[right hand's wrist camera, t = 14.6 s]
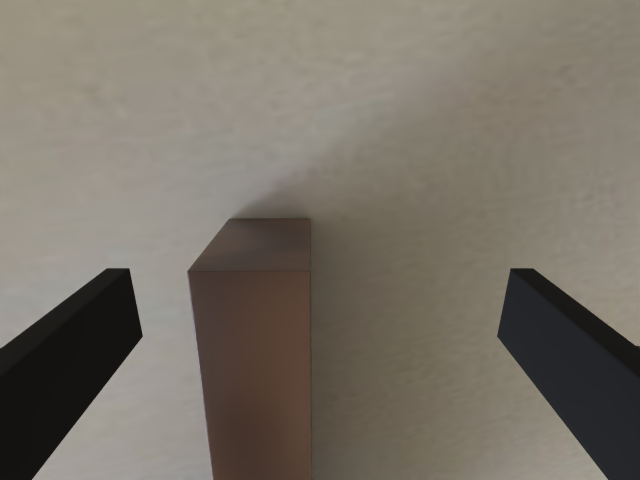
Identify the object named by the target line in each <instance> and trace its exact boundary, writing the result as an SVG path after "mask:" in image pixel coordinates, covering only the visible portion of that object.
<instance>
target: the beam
mask: <svg viewBox="0 0 640 480" xmlns="http://www.w3.org/2000/svg"><path fill="white" fill-rule="evenodd" d="M187 274H188V282H189V290H190V298H191V306H192V314H193V322H194V329H195V337H196V345H197V353H198V361H199V369H200V377H201V385H202V393H203V401H204V409H205V417H206V425H207V433H208V441H209V449H210V457H211V465H212V473H213V480H312V411H311V229H310V219H229V220H228V221H227V222H226V224H225V225H224V226H223V227H222V229H221V230H220V231H219V232H218V234H217V235H216V236H215V237H214V239H213V240H212V241H211V242H210V244H209V245H208V246H207V247H206V249H205V250H204V251H203V252H202V254H201V255H200V256H199V257H198V259H197V260H196V261H195V263H194V264H193V265H192V266H191V268H190V269H189V270H188V271H187Z"/></svg>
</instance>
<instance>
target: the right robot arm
mask: <svg viewBox="0 0 640 480" xmlns="http://www.w3.org/2000/svg"><path fill="white" fill-rule="evenodd" d="M142 337H143V335H142V330H141V325H140V320H139V315H138V310H137V305H136V300H135V295H134V290H133V285H132V280H131V275H130V270H129V268H107V269H106V270H104V271H103V272H102V273H100V274H99V275H98V276H96V277H95V278H94V279H92V280H91V281H90V282H88V283H87V284H86V285H84V286H83V287H82V288H80V289H79V290H78V291H77V292H75V293H74V294H73V295H71V296H70V297H69V298H67V299H66V300H65V301H63V302H62V303H61V304H59V305H58V306H57V307H55V308H54V309H53V310H51V311H50V312H49V313H47V314H46V315H45V316H43V317H42V318H41V319H39V320H38V321H37V322H35V323H34V324H33V325H31V326H30V327H29V328H28V329H26V330H25V331H24V332H22V333H21V334H20V335H18V336H17V337H16V338H14V339H13V340H12V341H10V342H9V343H8V344H6V345H5V346H4V347H2V348H0V480H32V479H33V477H34V476H35V475H36V474H37V472H38V471H39V470H40V468H41V467H42V466H43V464H44V463H45V462H46V461H47V459H48V458H49V457H50V455H51V454H52V453H53V452H54V450H55V449H56V448H57V446H58V445H59V444H60V443H61V441H62V440H63V439H64V437H65V436H66V435H67V434H68V432H69V431H70V430H71V428H72V427H73V426H74V424H75V423H76V422H77V421H78V419H79V418H80V417H81V415H82V414H83V413H84V412H85V410H86V409H87V408H88V406H89V405H90V404H91V403H92V401H93V400H94V399H95V397H96V396H97V395H98V394H99V392H100V391H101V390H102V388H103V387H104V386H105V384H106V383H107V382H108V381H109V379H110V378H111V377H112V375H113V374H114V373H115V372H116V370H117V369H118V368H119V366H120V365H121V364H122V363H123V361H124V360H125V359H126V357H127V356H128V355H129V353H130V352H131V351H132V350H133V348H134V347H135V346H136V344H137V343H138V342H139V341H140V339H141V338H142ZM497 337H498V338H499V339H500V341H501V342H502V343H503V344H504V346H505V347H506V348H507V350H508V351H509V352H510V353H511V355H512V356H513V357H514V359H515V360H516V361H517V363H518V364H519V365H520V366H521V368H522V369H523V370H524V372H525V373H526V374H527V375H528V377H529V378H530V379H531V381H532V382H533V383H534V384H535V386H536V387H537V388H538V390H539V391H540V392H541V394H542V395H543V396H544V397H545V399H546V400H547V401H548V403H549V404H550V405H551V406H552V408H553V409H554V410H555V412H556V413H557V414H558V415H559V417H560V418H561V419H562V421H563V422H564V423H565V424H566V426H567V427H568V428H569V430H570V431H571V432H572V434H573V435H574V436H575V437H576V439H577V440H578V441H579V443H580V444H581V445H582V446H583V448H584V449H585V450H586V452H587V453H588V454H589V455H590V457H591V458H592V459H593V461H594V462H595V463H596V464H597V466H598V467H599V468H600V470H601V471H602V472H603V474H604V475H605V476H606V477H607V479H608V480H640V347H639V346H635V345H634V344H632V343H631V342H630V341H628V340H627V339H626V338H624V337H623V336H622V335H620V334H619V333H618V332H616V331H615V330H614V329H612V328H611V327H610V326H609V325H607V324H606V323H605V322H603V321H602V320H601V319H599V318H598V317H597V316H595V315H594V314H593V313H591V312H590V311H589V310H587V309H586V308H585V307H583V306H582V305H581V304H579V303H578V302H577V301H575V300H574V299H573V298H571V297H570V296H569V295H567V294H566V293H565V292H563V291H562V290H561V289H560V288H558V287H557V286H556V285H554V284H553V283H552V282H550V281H549V280H548V279H546V278H545V277H544V276H542V275H541V274H540V273H538V272H537V271H536V270H534V269H533V268H511V270H510V275H509V280H508V285H507V290H506V295H505V300H504V305H503V310H502V315H501V320H500V325H499V330H498V335H497Z"/></svg>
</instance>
